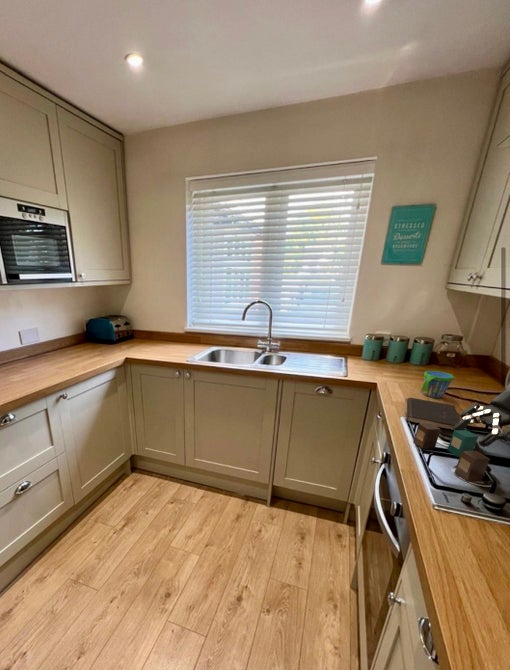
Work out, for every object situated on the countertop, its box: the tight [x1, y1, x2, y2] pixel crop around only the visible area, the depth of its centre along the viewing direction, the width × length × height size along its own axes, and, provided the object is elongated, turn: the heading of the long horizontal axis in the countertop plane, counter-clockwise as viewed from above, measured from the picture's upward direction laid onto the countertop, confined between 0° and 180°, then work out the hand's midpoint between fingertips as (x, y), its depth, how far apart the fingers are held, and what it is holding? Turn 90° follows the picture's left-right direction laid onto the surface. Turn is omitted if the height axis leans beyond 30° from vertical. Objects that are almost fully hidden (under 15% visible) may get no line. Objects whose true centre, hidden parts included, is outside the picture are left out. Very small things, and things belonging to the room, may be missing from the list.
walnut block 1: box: [412, 423, 442, 450], centre depth 100 cm, size 4×4×8 cm
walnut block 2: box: [454, 450, 491, 483], centre depth 85 cm, size 4×4×8 cm
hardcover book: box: [406, 397, 461, 430], centre depth 125 cm, size 16×23×2 cm
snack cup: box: [421, 370, 455, 399], centre depth 145 cm, size 16×10×10 cm
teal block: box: [446, 429, 479, 458], centre depth 96 cm, size 4×4×8 cm
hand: (467, 437), depth 95 cm, fingers open, 8 cm apart
